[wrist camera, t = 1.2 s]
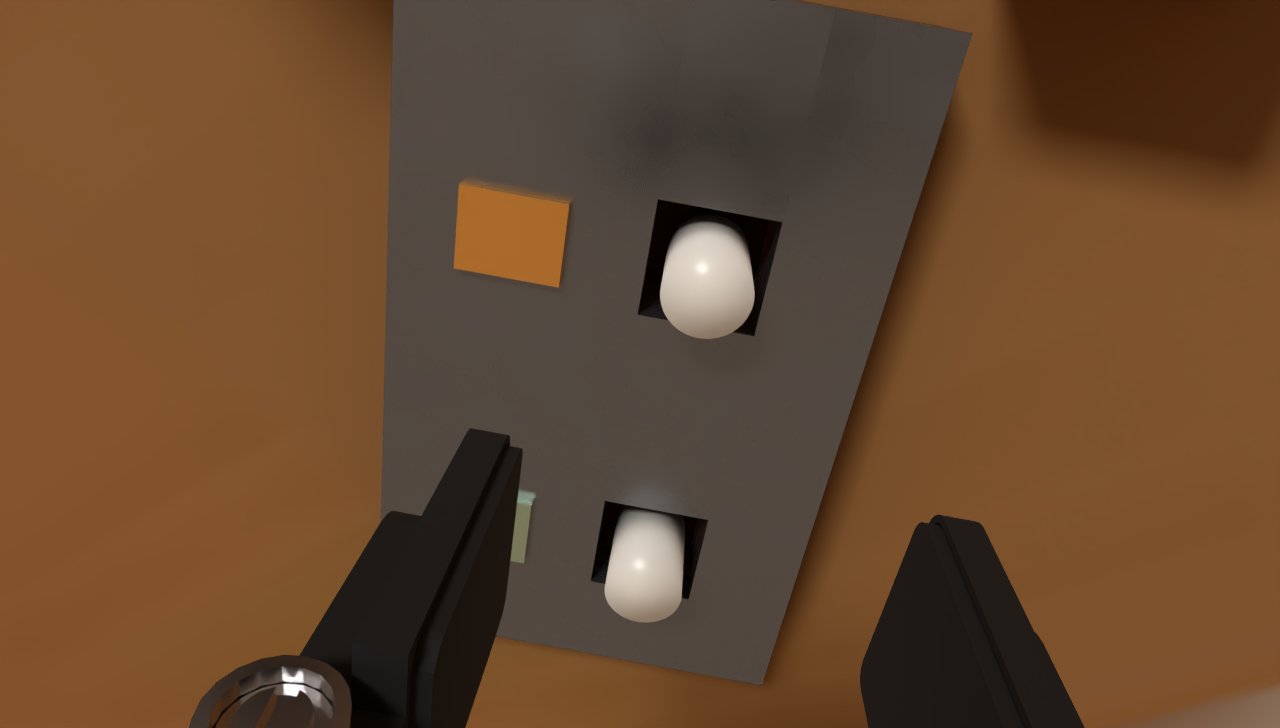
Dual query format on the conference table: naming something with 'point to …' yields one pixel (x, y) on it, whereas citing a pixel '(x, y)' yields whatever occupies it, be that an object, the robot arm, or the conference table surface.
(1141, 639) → the conference table surface
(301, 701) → the robot arm
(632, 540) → the plain button
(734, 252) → the tagged button
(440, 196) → the panel
